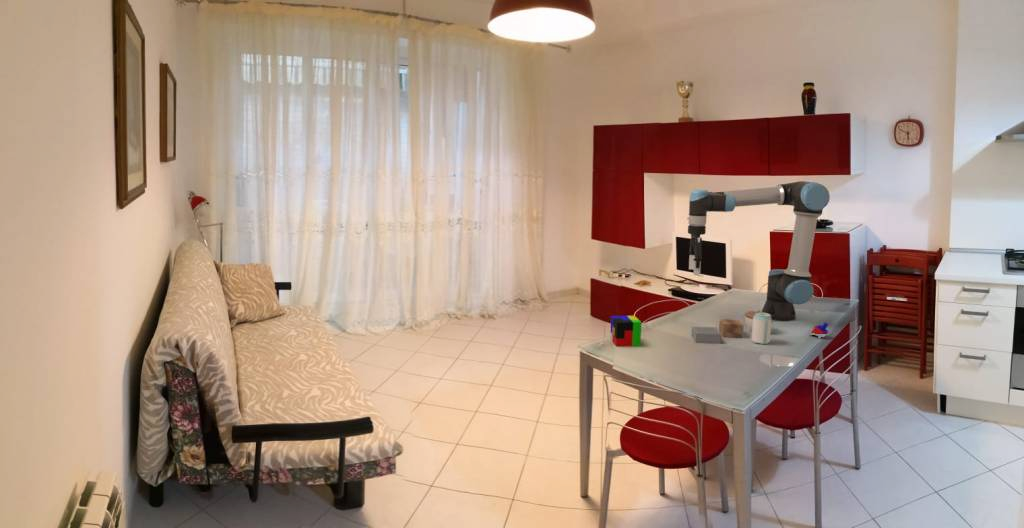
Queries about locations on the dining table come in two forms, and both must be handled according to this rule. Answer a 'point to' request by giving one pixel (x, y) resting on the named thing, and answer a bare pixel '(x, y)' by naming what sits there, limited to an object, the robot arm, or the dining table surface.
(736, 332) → the walnut brick
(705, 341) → the tower base
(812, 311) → the dining table surface
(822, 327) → the multicoloured piece
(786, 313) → the robot arm
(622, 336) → the puzzle toy
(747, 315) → the lidded jar
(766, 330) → the can
